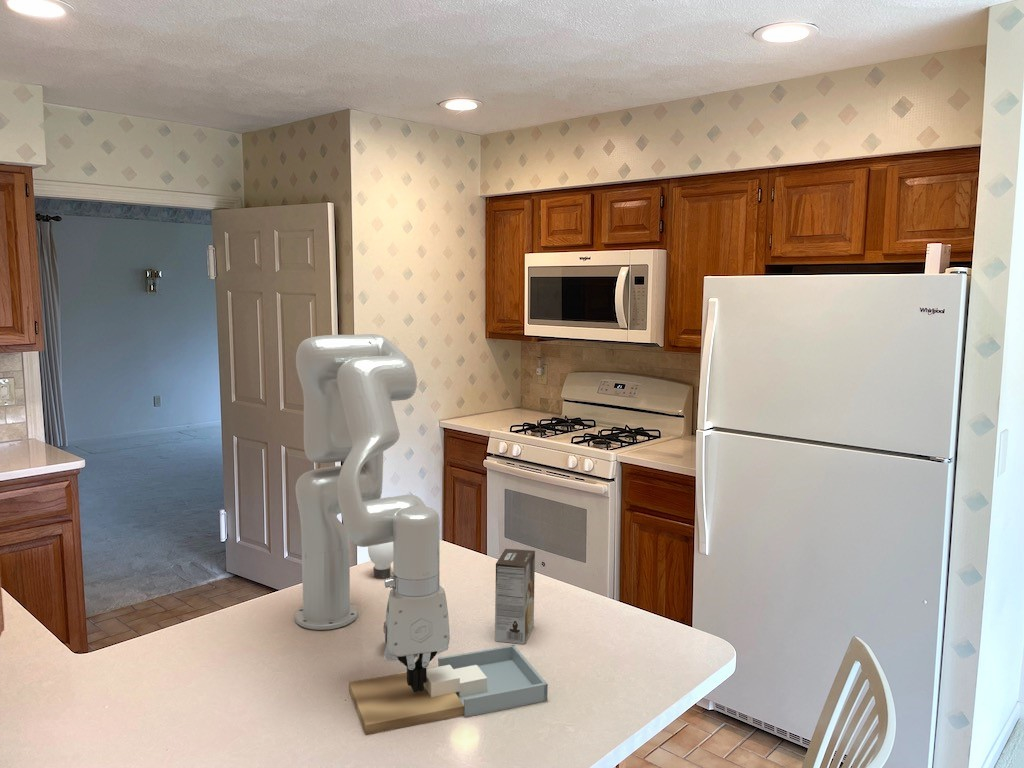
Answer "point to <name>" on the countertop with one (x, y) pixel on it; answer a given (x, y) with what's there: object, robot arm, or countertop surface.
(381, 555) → the light bulb
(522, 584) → the coffee box
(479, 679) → the tile
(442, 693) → the tile
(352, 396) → the robot arm
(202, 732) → the countertop surface
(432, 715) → the board
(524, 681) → the tray
